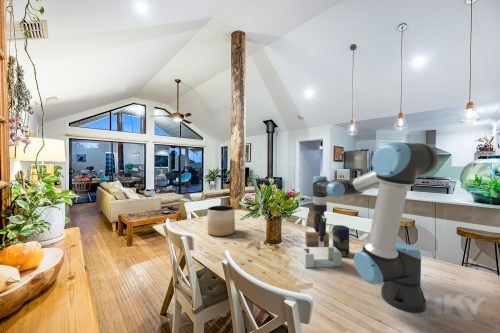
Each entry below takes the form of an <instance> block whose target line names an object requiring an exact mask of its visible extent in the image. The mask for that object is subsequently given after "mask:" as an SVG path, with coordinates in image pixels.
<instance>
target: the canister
mask: <svg viewBox="0 0 500 333" xmlns="http://www.w3.org/2000/svg"><path fill="white" fill-rule="evenodd" d="M332 247H335V248H336V249H338V250H339V251H340V252H341V253H342V257H347V256H349V255H350V229H349V227H348V226H345V225H342V224H340V225H339V224H338V225H337V224H336V225H333V226H332Z"/></svg>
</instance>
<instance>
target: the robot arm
mask: <svg viewBox="0 0 500 333" xmlns="http://www.w3.org/2000/svg"><path fill="white" fill-rule="evenodd" d="M438 163H439V156H438V153H437V152H436V149H434V148H433V147H431V146H430V145H428V144H425V143H417V142H416V143H415V142H414V143H411V142H410V143H409V142H397V141H396V142H387V143H384V144H382V145H381V146H380V147H378V148H377V149H375V151H374V153H373V155H372V158H371V167H372V168H373V170H371V171H369V172H366V173H364V174H362V175H359V176H358V177H355V178H352V179H350V180H336V181H334V180H333V181H332V180H328V177H327V176H325V175H315V176H313V177H312V211H313V229H314V232H319V234H318V236H319V240H318V247H317V248H325V247H324V236H326V232H327V217H325V213H326V212H327V211H328V205H327V204H328V196H329V197H332V198H340V197H342V196H351V195H352V196H353V195H354V196H357V195H362V194H363V193H364V192H367V191H368V190H372V189H375V188H378V191H377V194H376V202H375V206H374V212H373V216H372V223H371V227H370V232H369V237H368V239H367V240H365V241H364V242H363V245H362V250H361V251H360V250H359V251H358V252H356V253H355V254H354V257H353V264H354V266H355V269H356V271H357V273H358V275H359V276H360V277H361V278H362V279H363V280H364V281H365V282H366V283H369V284H371V285H376V284H378V285H380V284H382V287H381V290H380V295H381V298H382V299H383V300H384V301H385V302H386V303H387V304H389V305H390V306H392V307H395V308H396V309H399V310H402V311H405V312H410V313H422V312H425V310H426V309H427V301H426V298H425V297H426V296H425V295H424V292H423V290H422V285H421V284H422V283H421V281H422V280H421V279H422V278H421V277H422V274H421V273H422V255H421V250H419V248H418V247H415V246H414V245H411V244H408V243H405V242H402V241H401V242H400V241H397V238H398V234H399V230H400V226H401V220H402V217H403V212H404V208H405V203H406V198H407V194H408V191H409V190H408V189H409V188H410V187H413V186H414V185H415V183H416V179H417V177H419V176H423V175H427V174H430V173H431V172H433V171H434V170H435V169H436V167H437V166H438Z"/></svg>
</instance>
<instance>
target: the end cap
mask: <svg viewBox="0 0 500 333" xmlns="http://www.w3.org/2000/svg"><path fill="white" fill-rule="evenodd" d="M326 248H327V250H326V251H327V254H326V255H327V257H326V259H328V260H333V266H342V261H343V260H342V258H343V256H342V253H341V252H340V251H339V250H338V249H336V248H335V247H333V246H329V247H326Z"/></svg>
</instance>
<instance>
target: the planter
mask: <svg viewBox="0 0 500 333" xmlns="http://www.w3.org/2000/svg"><path fill="white" fill-rule="evenodd" d="M235 214H236V212H235V207H234V206H231V205H225V204H224V205H213V206H210V207H207V233H208V235H210V236H213V237H227V236H230V235H233V234H234V233H235V231H236V221H235V220H236V219H235V218H236V217H235Z"/></svg>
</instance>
